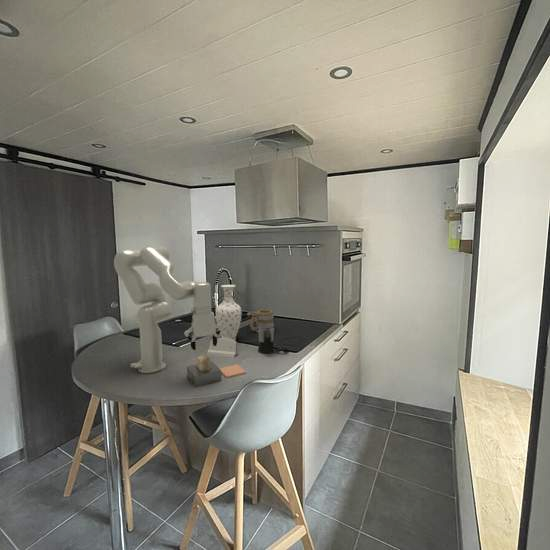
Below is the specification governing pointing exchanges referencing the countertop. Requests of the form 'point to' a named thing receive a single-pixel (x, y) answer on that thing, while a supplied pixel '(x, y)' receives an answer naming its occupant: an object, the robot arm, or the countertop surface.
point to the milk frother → (267, 339)
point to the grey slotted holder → (203, 375)
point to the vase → (228, 314)
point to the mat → (232, 371)
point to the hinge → (223, 348)
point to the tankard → (261, 318)
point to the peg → (203, 363)
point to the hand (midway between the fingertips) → (204, 347)
